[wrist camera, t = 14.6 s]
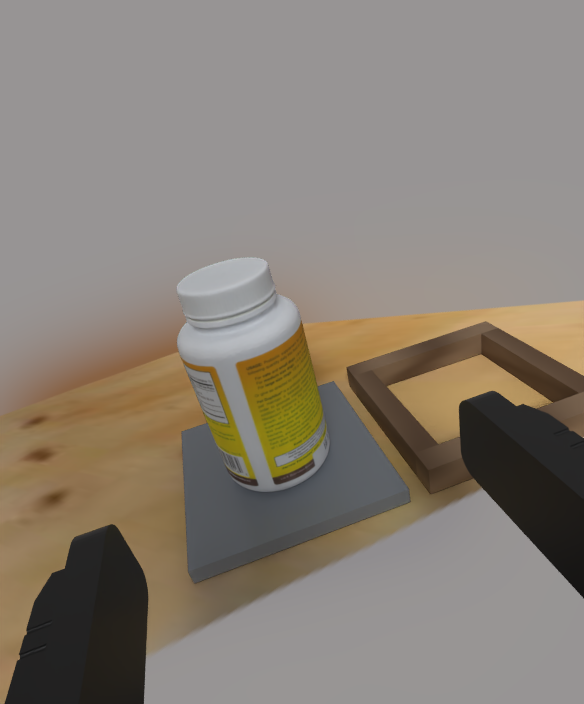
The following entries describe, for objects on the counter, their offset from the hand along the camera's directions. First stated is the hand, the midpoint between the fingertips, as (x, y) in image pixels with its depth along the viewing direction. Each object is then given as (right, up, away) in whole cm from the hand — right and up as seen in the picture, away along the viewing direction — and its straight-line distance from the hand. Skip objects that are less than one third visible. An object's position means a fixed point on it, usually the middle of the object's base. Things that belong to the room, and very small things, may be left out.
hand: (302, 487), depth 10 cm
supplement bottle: (-1, -3, +13) cm, 13 cm away
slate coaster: (-1, -3, +14) cm, 14 cm away
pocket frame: (+10, 0, +15) cm, 18 cm away
